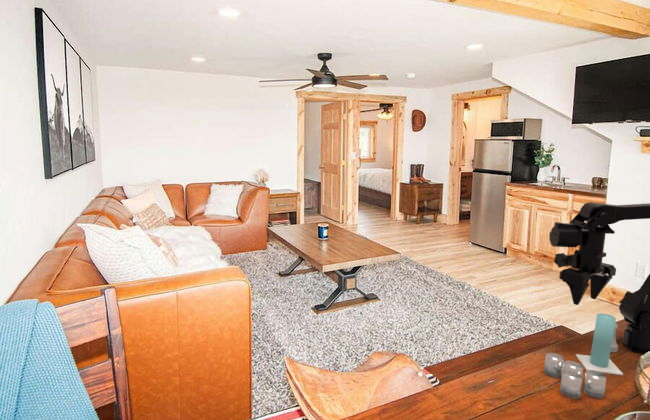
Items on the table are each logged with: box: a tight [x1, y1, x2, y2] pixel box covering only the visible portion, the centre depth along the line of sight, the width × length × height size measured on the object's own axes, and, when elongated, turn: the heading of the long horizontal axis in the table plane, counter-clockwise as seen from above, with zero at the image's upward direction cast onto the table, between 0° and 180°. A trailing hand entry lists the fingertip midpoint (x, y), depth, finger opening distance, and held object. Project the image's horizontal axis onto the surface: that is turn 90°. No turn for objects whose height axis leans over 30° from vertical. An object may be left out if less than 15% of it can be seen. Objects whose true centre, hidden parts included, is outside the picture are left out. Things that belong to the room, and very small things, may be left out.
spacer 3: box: [582, 370, 607, 399], centre depth 93 cm, size 4×4×4 cm
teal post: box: [589, 312, 617, 368], centre depth 105 cm, size 4×4×13 cm
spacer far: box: [559, 371, 584, 400], centre depth 93 cm, size 4×4×4 cm
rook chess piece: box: [610, 321, 619, 354], centre depth 114 cm, size 4×4×8 cm
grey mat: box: [575, 353, 624, 376], centre depth 106 cm, size 8×8×1 cm
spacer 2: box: [563, 360, 584, 377], centre depth 98 cm, size 4×4×4 cm
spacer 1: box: [543, 352, 565, 379], centre depth 101 cm, size 4×4×4 cm
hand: (584, 301), depth 115 cm, fingers open, 9 cm apart
